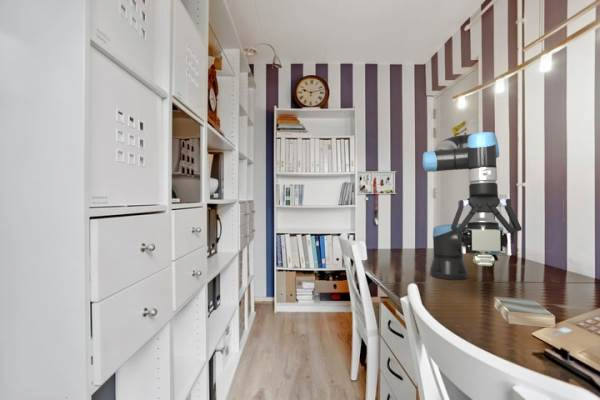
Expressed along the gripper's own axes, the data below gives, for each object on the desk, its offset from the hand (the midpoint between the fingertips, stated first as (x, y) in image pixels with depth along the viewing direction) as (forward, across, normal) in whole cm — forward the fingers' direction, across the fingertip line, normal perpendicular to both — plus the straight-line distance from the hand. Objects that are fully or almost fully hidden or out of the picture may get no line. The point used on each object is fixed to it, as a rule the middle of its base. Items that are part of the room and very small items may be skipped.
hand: (485, 253), depth 91 cm
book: (+17, +7, -5) cm, 19 cm away
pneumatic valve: (+4, -1, 0) cm, 4 cm away
